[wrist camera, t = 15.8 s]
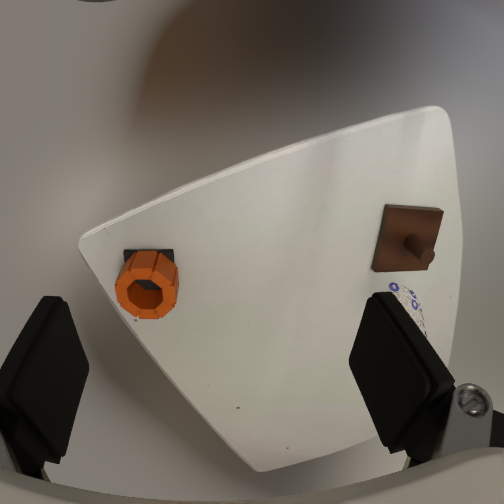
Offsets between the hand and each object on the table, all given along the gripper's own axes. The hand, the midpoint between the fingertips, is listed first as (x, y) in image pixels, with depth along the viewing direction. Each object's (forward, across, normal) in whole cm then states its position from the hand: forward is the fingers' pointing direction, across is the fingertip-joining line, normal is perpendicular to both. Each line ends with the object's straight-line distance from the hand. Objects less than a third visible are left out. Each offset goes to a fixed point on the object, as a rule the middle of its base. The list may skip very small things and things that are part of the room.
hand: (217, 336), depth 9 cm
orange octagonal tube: (+26, +8, +14) cm, 30 cm away
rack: (+26, -25, +9) cm, 37 cm away
